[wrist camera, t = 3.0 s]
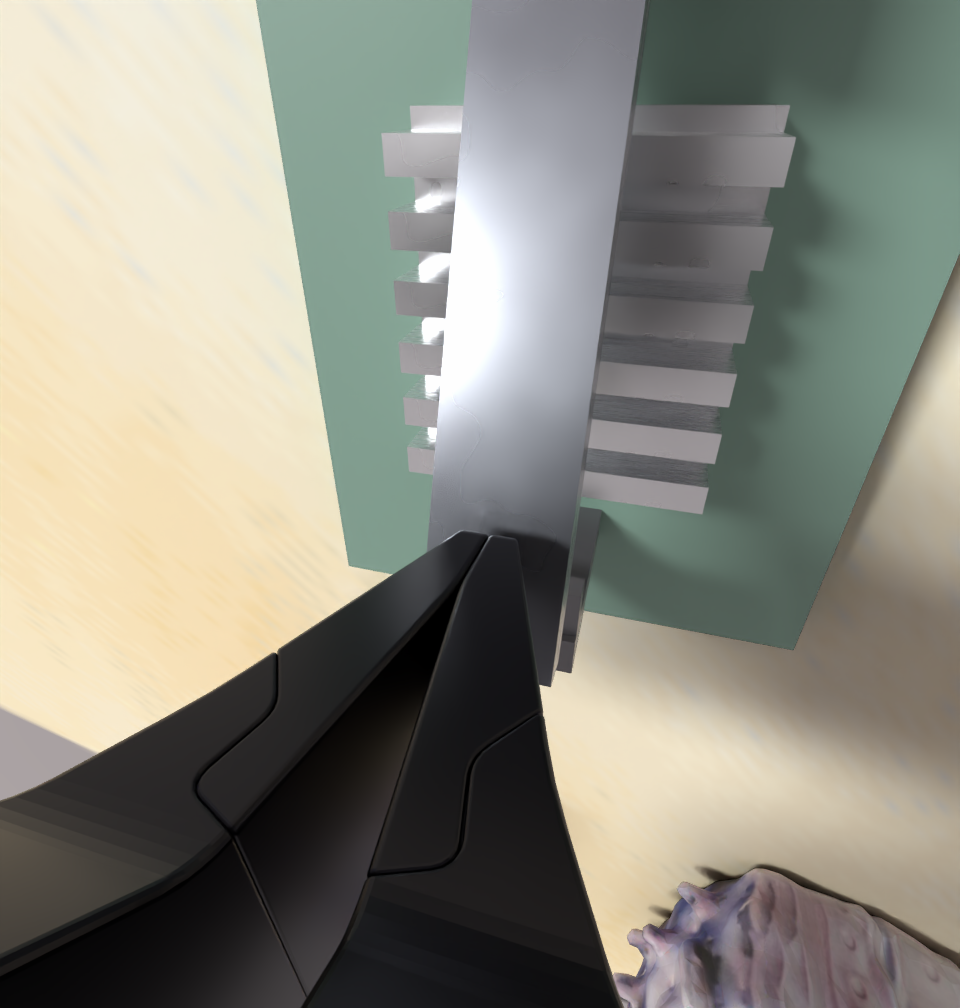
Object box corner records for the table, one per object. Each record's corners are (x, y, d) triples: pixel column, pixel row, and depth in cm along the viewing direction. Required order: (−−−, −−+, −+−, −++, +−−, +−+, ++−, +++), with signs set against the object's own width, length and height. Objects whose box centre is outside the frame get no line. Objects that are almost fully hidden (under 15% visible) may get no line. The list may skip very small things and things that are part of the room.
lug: (606, 474, 17) (579, 603, 13) (597, 537, 18) (571, 673, 14) (523, 463, 17) (470, 583, 13) (520, 524, 19) (471, 652, 14)
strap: (491, -232, 8) (472, -306, 7) (712, -261, 7) (721, -345, 6) (420, 632, 11) (400, 653, 10) (576, 665, 10) (570, 692, 9)
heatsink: (779, 104, 12) (804, 106, 9) (696, 464, 16) (698, 528, 14) (434, 104, 13) (379, 106, 11) (447, 432, 18) (410, 484, 15)
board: (1203, -424, 8) (1272, -493, 7) (788, 623, 19) (793, 650, 18) (245, -268, 12) (206, -301, 11) (362, 546, 23) (348, 565, 22)
